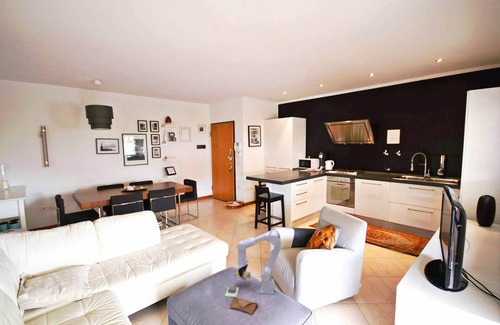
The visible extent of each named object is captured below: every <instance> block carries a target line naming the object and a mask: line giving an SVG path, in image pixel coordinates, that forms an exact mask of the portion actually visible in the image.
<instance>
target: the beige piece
mask: <svg viewBox="0 0 500 325" xmlns="http://www.w3.org/2000/svg"><path fill="white" fill-rule="evenodd" d="M251 276H252V275H251V271H247V270H246V271H243V277H240V275H239V272H238V271H236V268H234V277H235V278H238V279H241V280H244V281H247V282H249V281H251Z"/></svg>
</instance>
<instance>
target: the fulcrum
mask: <svg viewBox="0 0 500 325" xmlns="http://www.w3.org/2000/svg"><path fill="white" fill-rule="evenodd" d="M239 290H240V287H237V286H228V287H227V290H226V292H225V294H224V297H228V298H233V297H236V298H237V296H238V293H239Z"/></svg>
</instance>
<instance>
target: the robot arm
mask: <svg viewBox="0 0 500 325" xmlns="http://www.w3.org/2000/svg"><path fill="white" fill-rule="evenodd" d="M264 241H266V242H270V244H272V245H273V249H272V251H271V252H270V255H269V258H268V260H267V262H266V264H265V266H264V267H262V272H261V274H260V278H261V282H260V283H261V284H260V285H261V287H260V291H259V292H260V293H261V294H271V295H274V293H275V289H276V288H275V278H274V277H272V275H271V273H272V270H273V267H274V265H275V264H276V261H277V258H278V256H279V254H280V251H281V249H282V239H281V234H280V232H279V231H278V230H276V229H272V230H269V231H267V232H265V233H263V234H260V235H258V236H256V237H250V236H248V237H247V239H242V240H240V241H239V242H238V243H237V246H236V248H237V258H238V260H237V262H236V264H237V265H236V266H235V269H236V271H238V272H239V275H240V277H243V271H247V268H248V267H249V259H248V258H247V250H246V249H249V248H251V247H253V246H255V245H256V243H260V242H264Z"/></svg>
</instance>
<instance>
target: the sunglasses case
mask: <svg viewBox="0 0 500 325" xmlns="http://www.w3.org/2000/svg"><path fill="white" fill-rule="evenodd" d="M229 308H230V309H229ZM258 308H259V304H258V303H256V302H253V301H249V300H246V299H244V298H243V299H242V298H239V297H237V296H236V297H232V300H231V302H230V306H229V307H228V309H229V310H235V311H238V312H241V313H244V314H248V315H250V316H252V315H253V314H255V312H256V311H257V309H258ZM253 316H254V315H253Z"/></svg>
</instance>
